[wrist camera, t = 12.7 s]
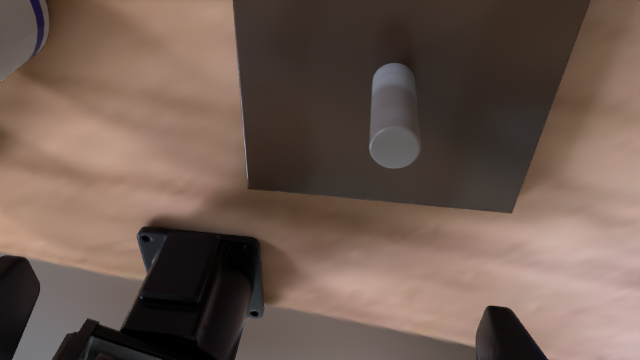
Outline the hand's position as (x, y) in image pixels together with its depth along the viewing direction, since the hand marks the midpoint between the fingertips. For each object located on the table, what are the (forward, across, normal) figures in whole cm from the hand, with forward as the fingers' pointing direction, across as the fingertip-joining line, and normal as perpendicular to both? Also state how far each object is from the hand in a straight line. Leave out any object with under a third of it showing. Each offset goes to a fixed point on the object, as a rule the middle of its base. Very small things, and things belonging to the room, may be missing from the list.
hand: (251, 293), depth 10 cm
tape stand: (+12, -3, +1) cm, 12 cm away
